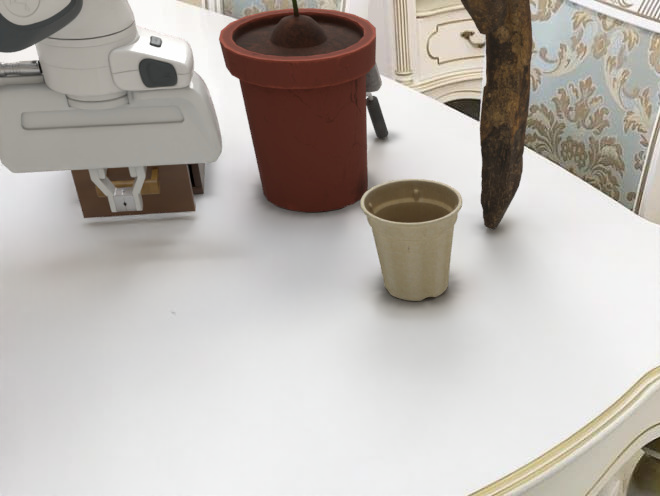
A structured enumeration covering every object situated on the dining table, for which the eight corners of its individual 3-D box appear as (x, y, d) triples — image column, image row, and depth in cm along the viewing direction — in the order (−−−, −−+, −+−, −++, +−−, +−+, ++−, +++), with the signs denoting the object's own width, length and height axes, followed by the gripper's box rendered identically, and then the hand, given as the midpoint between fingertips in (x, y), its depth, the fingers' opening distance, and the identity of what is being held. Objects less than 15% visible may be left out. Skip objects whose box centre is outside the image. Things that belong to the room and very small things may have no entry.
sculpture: (441, 234, 116) (430, -103, 94) (479, 208, 120) (476, -120, 99) (498, 251, 114) (500, -90, 92) (534, 223, 118) (544, -109, 96)
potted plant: (216, 173, 126) (170, -84, 108) (384, 133, 134) (368, -111, 116) (281, 235, 115) (243, -37, 97) (460, 188, 124) (455, -70, 106)
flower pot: (367, 312, 105) (359, 224, 99) (367, 264, 111) (360, 179, 105) (466, 309, 105) (464, 222, 99) (461, 262, 112) (459, 177, 106)
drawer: (194, 229, 114) (177, 142, 108) (80, 237, 112) (55, 149, 106) (198, 158, 126) (182, 76, 120) (94, 164, 124) (73, 81, 118)
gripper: (-37, 76, 95) (13, 230, 105) (205, 66, 98) (231, 217, 108) (-25, 50, 100) (21, 201, 110) (207, 41, 102) (231, 189, 112)
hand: (127, 209), depth 109 cm, fingers closed
